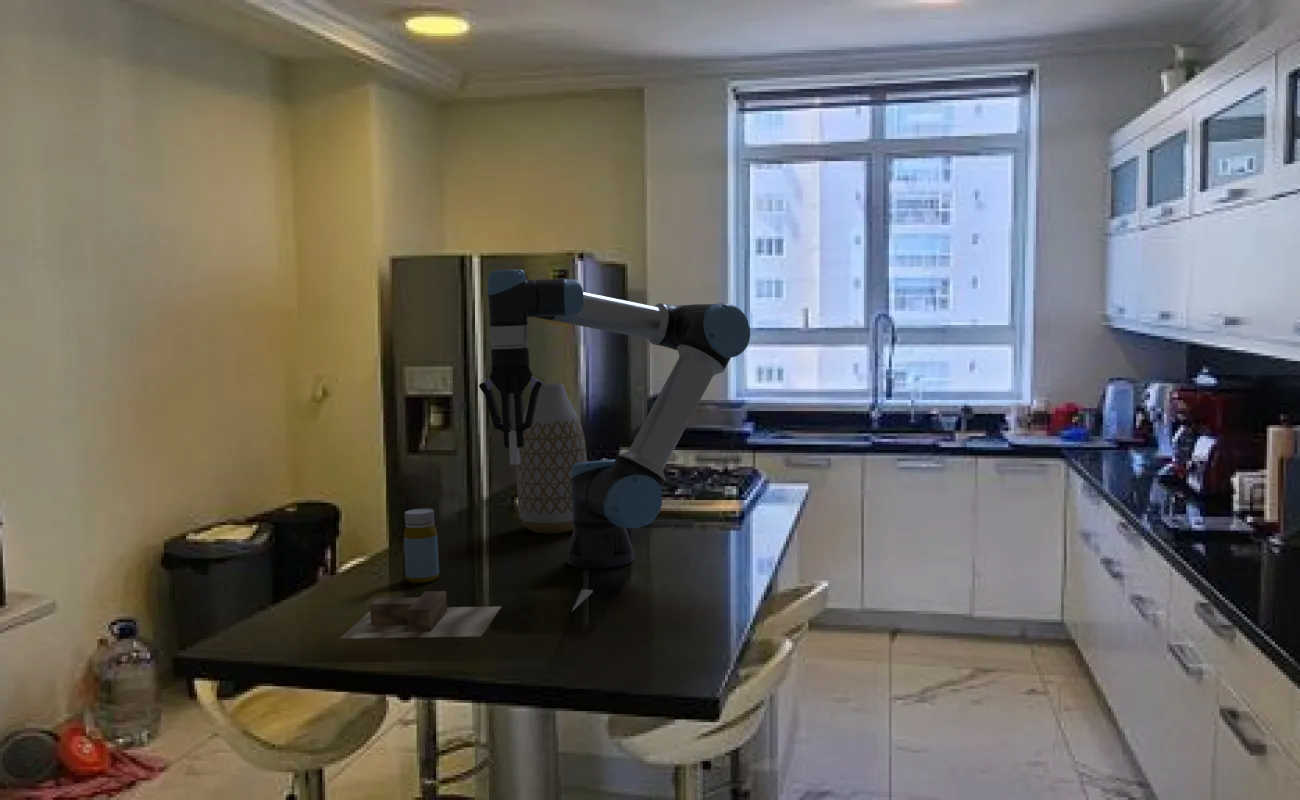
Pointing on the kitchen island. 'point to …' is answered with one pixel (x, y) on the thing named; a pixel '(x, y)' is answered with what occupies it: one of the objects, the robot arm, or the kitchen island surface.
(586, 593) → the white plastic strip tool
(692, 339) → the robot arm
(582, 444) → the vase
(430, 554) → the bottle
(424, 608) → the t block
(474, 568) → the kitchen island surface
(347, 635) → the board
